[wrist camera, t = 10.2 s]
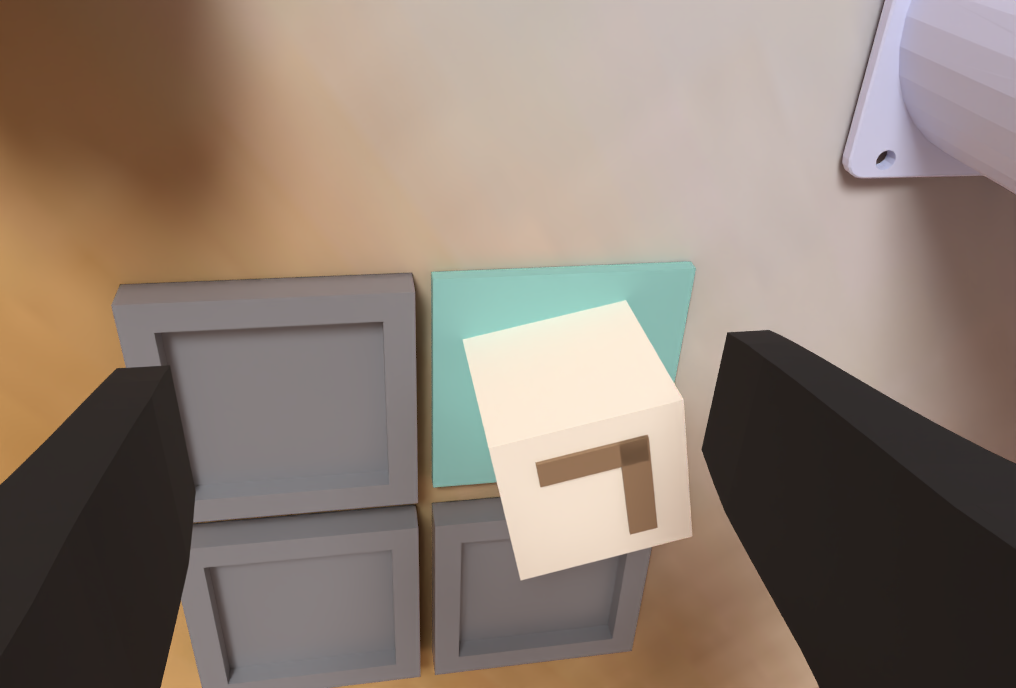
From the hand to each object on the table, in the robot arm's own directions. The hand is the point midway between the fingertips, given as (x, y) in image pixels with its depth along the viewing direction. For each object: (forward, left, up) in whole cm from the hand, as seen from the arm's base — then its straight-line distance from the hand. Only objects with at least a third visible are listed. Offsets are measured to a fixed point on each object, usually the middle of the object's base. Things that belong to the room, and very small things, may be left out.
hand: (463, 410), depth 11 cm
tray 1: (+3, +7, -10) cm, 13 cm away
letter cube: (-4, +7, -10) cm, 13 cm away
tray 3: (-4, +15, -10) cm, 19 cm away
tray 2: (+3, +15, -10) cm, 19 cm away
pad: (-4, +7, -10) cm, 13 cm away
